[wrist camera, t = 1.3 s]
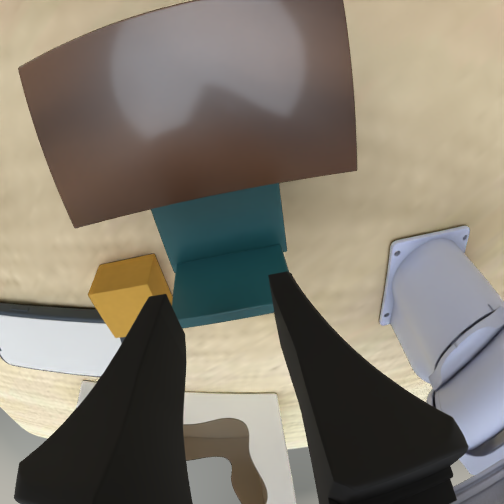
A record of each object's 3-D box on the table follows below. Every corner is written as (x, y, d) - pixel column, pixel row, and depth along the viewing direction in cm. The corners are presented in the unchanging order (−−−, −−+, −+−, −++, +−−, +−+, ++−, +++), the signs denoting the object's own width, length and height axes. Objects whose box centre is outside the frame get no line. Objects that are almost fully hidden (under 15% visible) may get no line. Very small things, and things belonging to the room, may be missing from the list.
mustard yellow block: (173, 299, 24) (170, 331, 21) (122, 307, 24) (115, 338, 21) (154, 253, 21) (147, 284, 19) (99, 264, 21) (87, 294, 19)
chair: (273, 210, 20) (305, 306, 13) (180, 228, 20) (167, 331, 13) (259, 117, 17) (293, 173, 10) (154, 140, 17) (112, 211, 10)
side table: (313, 129, 18) (357, 171, 12) (113, 171, 18) (74, 229, 12) (297, 6, 13) (341, -13, 8) (79, 56, 13) (17, 67, 8)
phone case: (123, 305, 24) (-24, 296, 22) (120, 320, 23) (-31, 307, 20) (139, 368, 29) (9, 354, 27) (138, 381, 28) (5, 365, 25)
